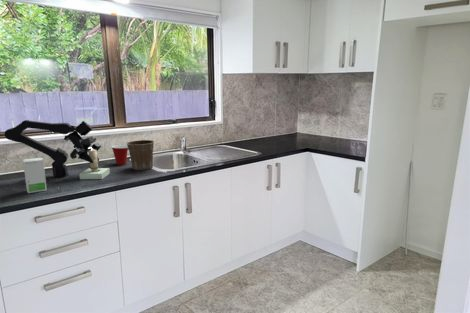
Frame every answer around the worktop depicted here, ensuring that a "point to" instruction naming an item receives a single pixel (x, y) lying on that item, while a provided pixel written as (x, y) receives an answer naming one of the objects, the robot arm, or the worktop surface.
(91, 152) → the ash peg
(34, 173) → the skincare box
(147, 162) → the plant pot
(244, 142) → the worktop surface
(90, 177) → the socket board
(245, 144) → the worktop surface
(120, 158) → the plastic cup
